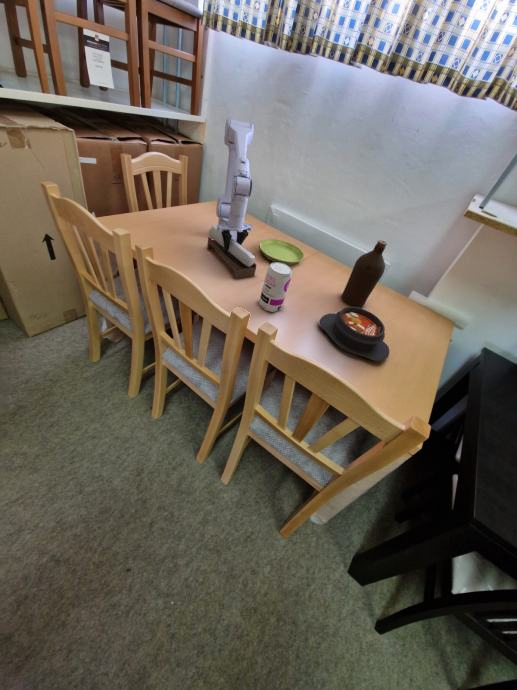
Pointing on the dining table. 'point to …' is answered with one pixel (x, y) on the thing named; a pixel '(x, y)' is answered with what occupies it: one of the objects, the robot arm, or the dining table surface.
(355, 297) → the olive oil
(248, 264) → the grey octagonal prism
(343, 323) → the casserole
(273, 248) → the saucer
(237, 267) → the dark brown tray
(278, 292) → the supplement can
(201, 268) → the dining table surface
